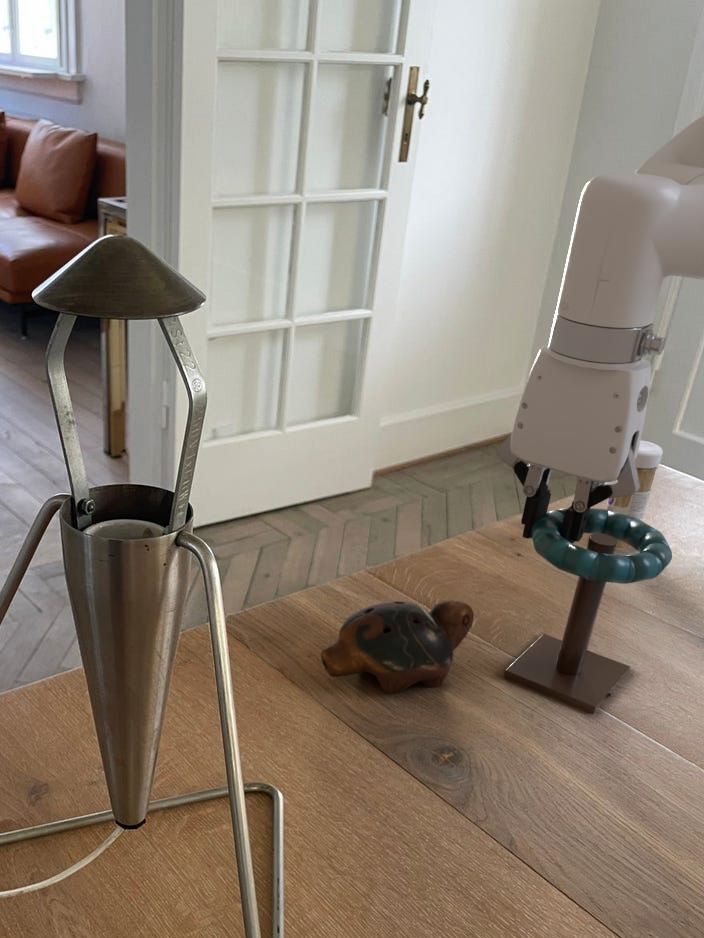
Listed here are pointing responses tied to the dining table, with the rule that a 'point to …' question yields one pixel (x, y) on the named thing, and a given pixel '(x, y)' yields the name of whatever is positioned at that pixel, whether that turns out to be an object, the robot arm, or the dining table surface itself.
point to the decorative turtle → (400, 643)
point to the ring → (601, 565)
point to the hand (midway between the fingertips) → (549, 537)
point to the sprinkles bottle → (646, 469)
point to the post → (573, 650)
